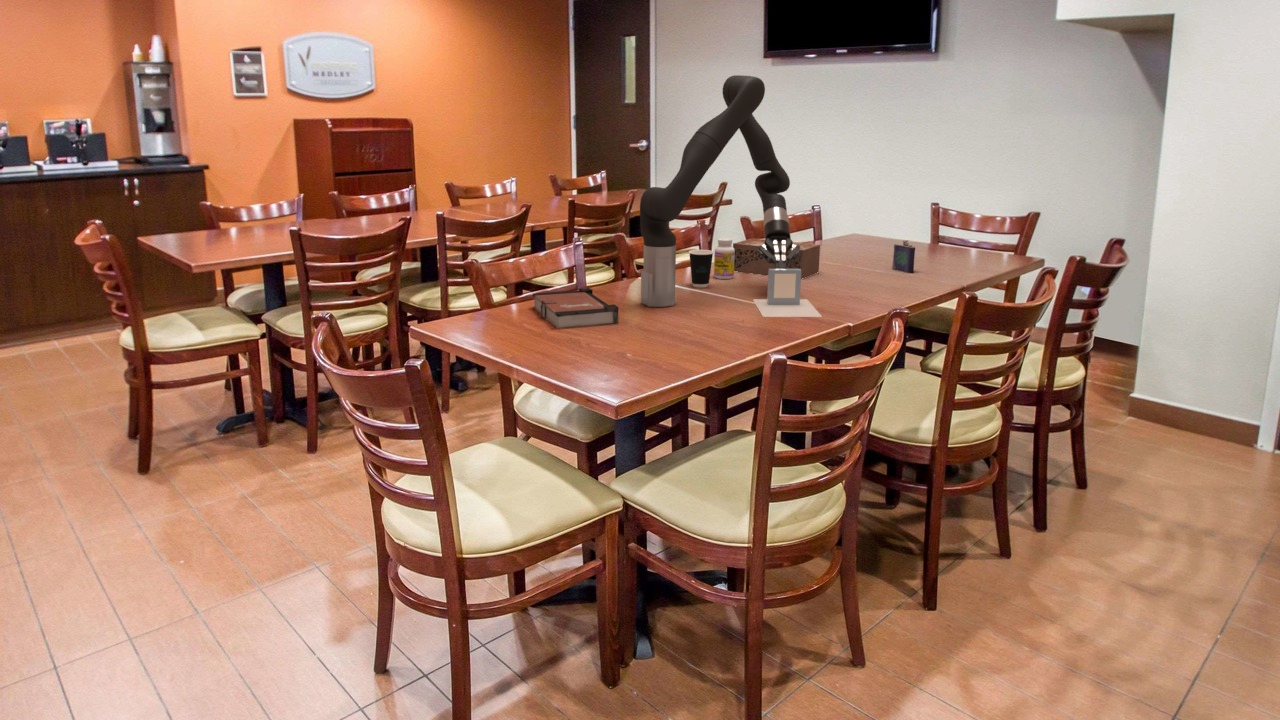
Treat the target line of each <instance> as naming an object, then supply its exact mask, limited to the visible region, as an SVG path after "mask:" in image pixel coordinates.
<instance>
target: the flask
mask: <svg viewBox="0 0 1280 720" xmlns="http://www.w3.org/2000/svg"><path fill="white" fill-rule="evenodd" d="M902 243H903V244H902ZM902 243H894V245H893V256H892V266H891V269H892V270H894V271H897V270H898V272H903V273H907V274H914V269H915V268H914V267H915V255H916V246H913V244H910V243H909V240H902Z"/></svg>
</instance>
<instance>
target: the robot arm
mask: <svg viewBox="0 0 1280 720" xmlns="http://www.w3.org/2000/svg"><path fill="white" fill-rule="evenodd" d="M765 92H766V86H765V83H764V81H763V80H762V79H761V78H759V77H758V76H751V75H739V74H738V75H735V74H733V75H731V76H729V77H727V79H725V81H724V83H723V85H722V98H723V100H724V102H725V105H726V108H725V110H723V111H722V112H721V113H719V114H718V115H716V116H715V117H712V119H710V120H709V121H707V122H706V123H704V124H703V125H702V126H700V127H699V128H698V129H697V130H696V131H695V132H694V134H693V135H692V137H691V138H690V139H689V141H688V142H687V144H686V145H685V147H684V150H683V152H682V157H681V163H680V167H679V170H678V172H677V173H676V175H675V176H674V177H673V179H672V180H671V181H670V183H669V184H668V185H667V186H666V187H661V186H660V187H659V186H651V187H649V188H647V189H645V190H644V192H643V193H642V195H641V198H640V203H639V215H640V216H639V218H640V219H639V220H640V221H639V222H640V234H641V236H642V240H643V270H641V271H640V303H641V304H643V305H645V306H646V307H648V308H649V307H650V308H653V307H654V308H655V307H656V308H662V307H663V308H666V307H672V306H674V305H676V271H677V269H676V267H677V265H676V264H677V263H676V261H677V260H676V259H677V258H676V255H677V236H676V234H675V233H674V232H673V231H672V230H671V229H670V227H669V222H672V221H674V220H676V219H677V218H678V217H679V216H680V214H681V213H682V211H683V210H684V208H685V206H686V204H687V203H688V201H689V200H690V197H691V196H692V194H693V193H694V191H695V189H696V188H697V186H698V185H699V183H700V182H701V181H702V180H703V178H704V176H705V175H706V173H707V172H708V170H710V168H711V167H712V165H713V164H714V163H715V161H716V160H717V159H718V158H719V156H720V155H721V153H722V152H723V150H724V148H725V147H726V146H727V145H728V143H729V142H730V141H731V139H732V138H733V137H734V136H735V134H736V133H737V132H738V130H739V131H740V133H741V134H742V137H743V139H744V142H745V144H746V146H747V148H748V151H749V155H750V157H751V158H750V159H751V160H752V164H753V166H754V169H756V170H757V171H759V172H765V173H761V174H759V175H757V176H756V178H755V180H754V186H755V189H756V192H757V193H758V196H759V199H760V201H761V203H762V211H763V225H762V226H763V231H764V239H765V242H764V245H760V246H759V248H758V253H759V254H760V255H761V256H762V257H763V258H764V259H765V260H766V261H767V262H769V263H770V264H771V263H773V264H775V268H776V269H786V263H788V264H789V263H790V262H791V261H792V260H793V259H794V257H795V256H796V255H797V254H798V253H799V250H800V246H799V245H797V246H796V245H794V244H793V242H794V241H793V240H792V238H791V230H790V219H789V215H788V210H787V203H786V198H785V196H783V195H782V194H781V193H785V192H787V191H788V190H789V188H790V185H791V181H790V177H789V174H788V173H787V172H786V171H785V169H784V167H783V166H782V165H781V164H780V162H779V160H778V158H777V156H776V153H775V150H774V146H773V144H772V142H771V138H770V137H769V135H768V133H767V132H766V131H765V129H764V128H763V127H762V126H761V124H760V123H759V122H758V121H757V119H756V118H755V116H754V114H753V113H755V111H756V110H757V109H758V108H759V107H760V105H761V103H762V101H763V99H764V96H765ZM790 248H792V250H791V251H792V252H791V253H790V254H789V255H788V257H786V253H787V252H788V251H789V250H790ZM767 250H768V251H769V252H770V253H771V254H773V256H772V255H771V254H770V253H769V252H768V251H767ZM779 255H780V257H779Z"/></svg>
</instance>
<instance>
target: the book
mask: <svg viewBox="0 0 1280 720" xmlns="http://www.w3.org/2000/svg"><path fill="white" fill-rule="evenodd" d="M532 297H534V306H532V308H533V310H535V311H536V312H537V313H538V314H539V315H540V317H541V318H542V319H545V320H547V321H548V322H549V323H550V324H551V325H552V326H553V327H554V328H555V329H557V330H558V329H559V330H560V329H561V330H562V329H572V328H574V329H575V328H583V327H584V328H585V327H594V326H605V325H606V326H607V325H616V324H617V325H618V324H619V306H618V305H616V304H608V303H607V302H605V301H603V300H602V299H601V298H599V297H598V296H596V295H594V294H593V289H591V288H590V287H584V288H578V290H577V289H576V290H566V291H565V290H564V291H550V292H536V293H532Z"/></svg>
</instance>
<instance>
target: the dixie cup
mask: <svg viewBox="0 0 1280 720" xmlns="http://www.w3.org/2000/svg"><path fill="white" fill-rule="evenodd" d="M688 253H689V263H690V264H689V265H690V274H691V283H692V287H694V288H707V287H709V284H710V277H711V272H712V261H713V254H715V251H714V250H709V249H692V250H689V251H688Z"/></svg>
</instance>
